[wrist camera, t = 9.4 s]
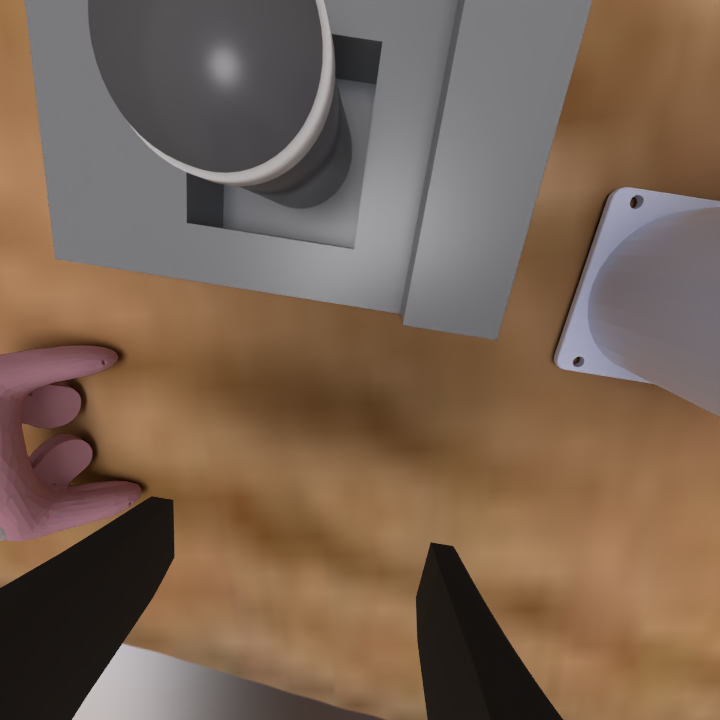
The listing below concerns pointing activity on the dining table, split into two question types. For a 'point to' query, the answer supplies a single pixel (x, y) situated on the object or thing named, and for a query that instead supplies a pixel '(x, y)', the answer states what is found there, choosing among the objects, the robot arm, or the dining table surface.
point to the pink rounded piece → (50, 445)
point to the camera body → (366, 173)
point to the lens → (230, 90)
